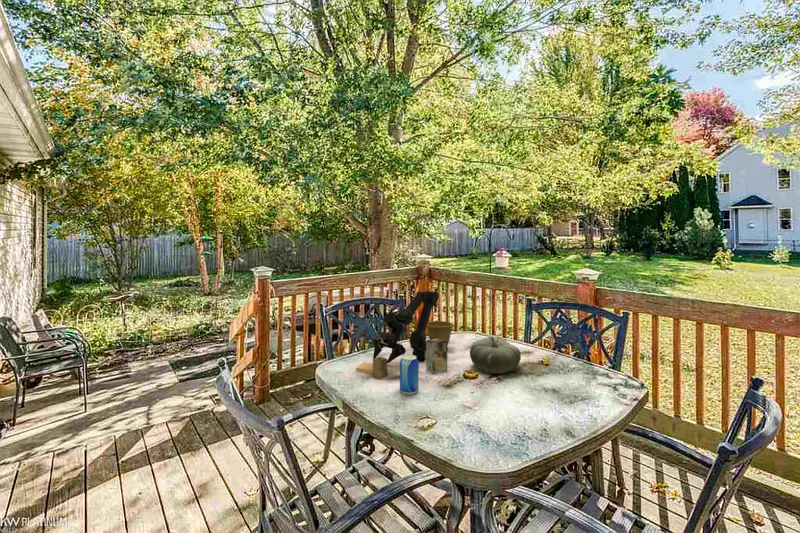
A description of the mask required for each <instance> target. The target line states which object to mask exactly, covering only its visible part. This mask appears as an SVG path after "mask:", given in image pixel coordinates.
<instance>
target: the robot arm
mask: <svg viewBox="0 0 800 533" xmlns="http://www.w3.org/2000/svg"><path fill="white" fill-rule="evenodd" d="M439 298H440V296H439V293H438V292H437V291H433V290H425V291H421V290H419V291H417V293H416V294H415V296H414V297H413V299H412V300H411V301H410V302H409V303H408V305H407V306H406V307H405V308H404V309H401V310H400V311H399V312H398V313H397V314H396V313H395V312H394V311H393V312H392V311H391V312H390V313H388V314H386V315H385V316H384V317H383V322H384V324H385V325H386V327H387V328H389V329H390V331H387V332H383V331H379V334H378V338H377V337H373V339H372V340H371V343H372V345H373V347H374V349H373V355H372V360H373V359H375V358H377V357H379V355H380V354H381V352H382V351H383V349H384V347H385V348H388V349H391V353H390V355H389V357H388V358H387V364H390V363H391V362H392V361H393V360H395V359H396V358H398V357H402V356H404V355H406V353H407V352H406V351H407V349H406V348H405V347H404V346H403V344H401V343H398V342H401V336H402V335H403V333H406V332H407V328H406V325H407V326H409V325H410V324H411V323H412V321H413V319H414V314H415V313H416V312H417V310H418V308H419V307H420V306H421V304H423V305H422V309H421V312H420V316H419V320H418V322H417V325H416V329H415V330H414V331H411V333H410V336H409V345H410V349H412V350H413V351H412V354H411V355H415V356H416V357H417V360H418V361H419V363H420V362H421V363H425V362H426V340H427V334H426V330H427V324H428V322H429V319H430V316H431V313H432V309H433V307H435V305H437V302H438V300H439ZM404 325H405V326H404Z"/></svg>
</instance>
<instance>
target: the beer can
mask: <svg viewBox="0 0 800 533" xmlns="http://www.w3.org/2000/svg"><path fill="white" fill-rule="evenodd" d="M419 373H420V361H418V360H417V357H416V356H415V355H412V354H404V355H401V359H400V361H399V391H400V392H401V393H402V394H403V395H408V396H410V395H411V396H412V395H416V394H417V393H418V391H419V387H420V386H419V385H420V384H419V380H420V379H419V376H420V374H419Z"/></svg>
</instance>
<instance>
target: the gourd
mask: <svg viewBox="0 0 800 533" xmlns="http://www.w3.org/2000/svg"><path fill="white" fill-rule="evenodd" d="M469 350H470V351H469V357H470V359H471V362H472V363H473V365H475V366H476V367H477V368H479V369H481V370H482V371H484V372H486V373H490V374H496V375H499V374H505V373H507V372H511V371H514V370H515V369H516V368H517V367H518V366H519V364H520V362H521V357H522V356H521V351H520V349H519V348H518V347H517V346H516V345H514V344H510V342H508V341H506V340H505V339H504V338H503V339H502V338H499V337H497V336H494V335H489V336H488V337H484V338H481V339H478V340H476V341H475V342H474V343H472V345H471V346H470V349H469Z"/></svg>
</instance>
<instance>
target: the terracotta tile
mask: <svg viewBox="0 0 800 533" xmlns="http://www.w3.org/2000/svg"><path fill="white" fill-rule="evenodd" d="M356 371H359V372H358V373H361V372H364V373H363V374H369V373H371V375H373V362H365V361H363V362H362V363H360V364H359V365H357V367H356V368H355V372H356Z"/></svg>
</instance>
